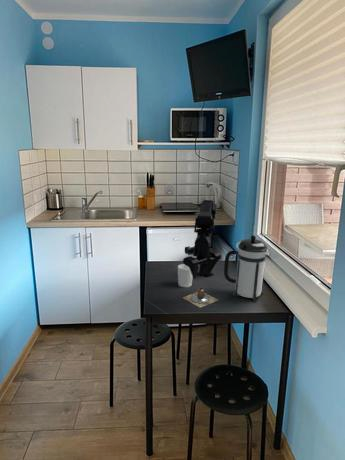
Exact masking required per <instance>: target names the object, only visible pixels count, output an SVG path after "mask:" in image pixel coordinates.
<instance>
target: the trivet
mask: <svg viewBox="0 0 345 460" xmlns="http://www.w3.org/2000/svg"><path fill="white" fill-rule="evenodd" d="M196 293H198V291H196V292H193V293H190V294H188V295H185V296H183V297H182V299H183V300H185V301H187V302H189V303H191V304H192V305H195V306H197V307H198V308H200V309H201V308H203V307H206V306H209V305H211V304H213V303H215V302H218V301H219V299H218V298H216V297H214V296H212V295H211V294H208V293H206V292H204V294H206V295H208V296H209V297H210V301H209V302H207V303H196V302H193V301H192V300H191V295H193V294H196Z"/></svg>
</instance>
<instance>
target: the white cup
mask: <svg viewBox="0 0 345 460" xmlns="http://www.w3.org/2000/svg"><path fill="white" fill-rule="evenodd" d="M177 280H178V281H177V283H178V284H177V285H178V286H179V287H181V288H190V287H191V286H192V285H193V276H192V273H191V270H190V268H189V267H188V266H186V265H185V264H183V263H181V264H179V265H177Z"/></svg>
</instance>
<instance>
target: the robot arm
mask: <svg viewBox="0 0 345 460" xmlns="http://www.w3.org/2000/svg"><path fill="white" fill-rule="evenodd" d="M217 214H218V204H216V203H215V202H214V200H211V199H209V200H207V199H203V201H202V202H201V203H200V205H199V213H198V214H197V216H196V217H195V222H194V229H193V231H194V233H196V234H197V235H196V238H195V241H194V246H192V247H191V246H185V247H184V254H185V255H187V257H184V258H183V261H182V264H185V265H186V266H188V267H189V268H190V270H191V273H192V276H193V278H192V280H196V279H197V275H198V276H202V277H204V278H207V277H208V278H209V277H211V276H214V273H213V272H212V271H213V269H214V267H215V265H217V263H218V262H219V261H220V260H221V258H222V255H221V253H220V252H219V251H217V250H214V249H213V248H212V246H213V245H212V244H211V243H212V234H213V232H214V231H215V224H216V223H215V222H216V221H215V219H216V215H217ZM191 255H192V256H191ZM198 271H199V272H198Z"/></svg>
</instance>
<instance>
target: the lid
mask: <svg viewBox="0 0 345 460" xmlns="http://www.w3.org/2000/svg"><path fill="white" fill-rule="evenodd" d="M197 292H198V293H196V292H195V293H196V294H193V293H192V294H193V295H191V300H192V301H193V302H196V303H207V302H209V301H210V297H209V296H208V295H209V294H208V295H206V294H207V293H206V294H204V293H205V288H203V287H202V288H201V287H200V288H199V287H198V288H197Z"/></svg>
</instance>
